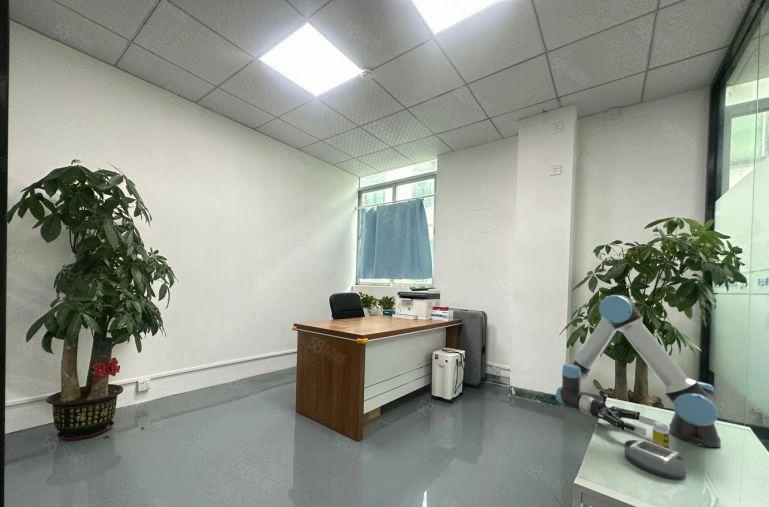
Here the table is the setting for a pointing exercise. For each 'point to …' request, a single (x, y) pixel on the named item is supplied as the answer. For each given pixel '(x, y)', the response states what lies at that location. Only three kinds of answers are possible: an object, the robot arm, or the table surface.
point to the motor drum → (655, 459)
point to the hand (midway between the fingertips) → (652, 428)
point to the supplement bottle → (661, 435)
